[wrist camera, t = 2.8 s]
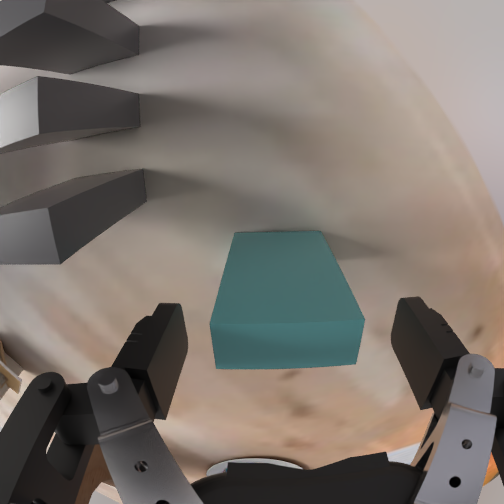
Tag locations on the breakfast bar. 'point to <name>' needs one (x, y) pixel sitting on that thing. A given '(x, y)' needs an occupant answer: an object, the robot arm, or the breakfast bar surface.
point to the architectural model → (9, 373)
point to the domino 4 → (284, 305)
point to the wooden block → (94, 476)
